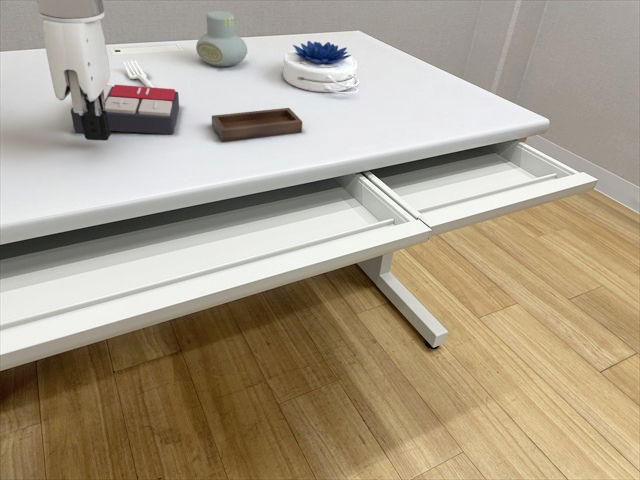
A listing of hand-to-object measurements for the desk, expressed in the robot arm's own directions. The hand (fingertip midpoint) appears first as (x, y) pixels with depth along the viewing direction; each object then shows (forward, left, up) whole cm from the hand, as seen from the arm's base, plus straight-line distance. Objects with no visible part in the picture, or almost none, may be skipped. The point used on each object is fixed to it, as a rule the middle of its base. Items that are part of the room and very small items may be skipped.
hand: (98, 137), depth 70 cm
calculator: (+2, +10, -2) cm, 11 cm away
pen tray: (+23, +9, -2) cm, 25 cm away
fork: (+2, +25, -2) cm, 25 cm away
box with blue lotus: (+37, +33, -2) cm, 50 cm away
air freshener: (+15, +42, -2) cm, 44 cm away
